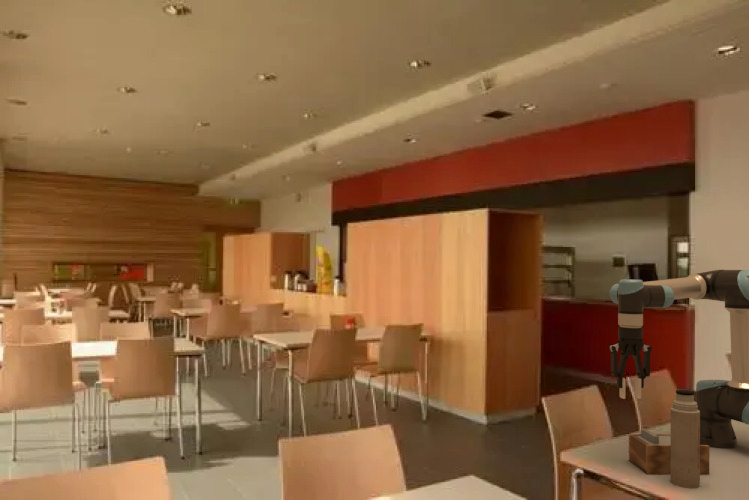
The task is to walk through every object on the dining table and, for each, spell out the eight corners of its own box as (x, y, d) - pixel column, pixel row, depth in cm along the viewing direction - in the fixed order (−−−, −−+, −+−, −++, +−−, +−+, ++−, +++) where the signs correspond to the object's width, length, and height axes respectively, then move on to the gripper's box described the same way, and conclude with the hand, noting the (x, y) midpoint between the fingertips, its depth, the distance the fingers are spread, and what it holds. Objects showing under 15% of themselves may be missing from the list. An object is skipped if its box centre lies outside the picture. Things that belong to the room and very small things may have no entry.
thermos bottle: (700, 481, 187) (700, 390, 187) (698, 490, 180) (698, 394, 180) (672, 476, 191) (672, 387, 191) (668, 484, 184) (669, 391, 185)
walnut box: (687, 461, 206) (687, 434, 206) (709, 474, 193) (709, 445, 193) (628, 461, 206) (628, 434, 206) (647, 474, 193) (647, 445, 193)
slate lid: (681, 440, 205) (681, 428, 205) (699, 449, 195) (699, 437, 195) (635, 440, 204) (635, 428, 205) (649, 449, 194) (649, 437, 194)
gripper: (651, 325, 204) (651, 395, 203) (599, 325, 203) (599, 395, 203) (662, 327, 196) (662, 400, 196) (608, 327, 196) (608, 400, 195)
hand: (630, 397), depth 199 cm, fingers open, 4 cm apart
